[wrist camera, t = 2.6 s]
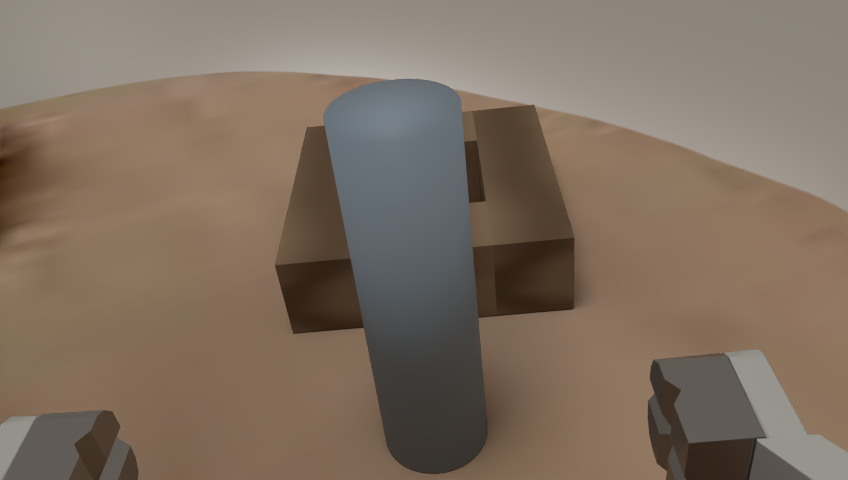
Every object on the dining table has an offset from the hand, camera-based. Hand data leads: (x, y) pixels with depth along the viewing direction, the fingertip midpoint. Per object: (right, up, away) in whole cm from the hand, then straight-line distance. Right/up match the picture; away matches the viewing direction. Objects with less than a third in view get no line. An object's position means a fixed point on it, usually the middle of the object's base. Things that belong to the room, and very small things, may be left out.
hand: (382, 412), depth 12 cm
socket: (+1, +3, +29) cm, 29 cm away
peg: (+1, -5, +19) cm, 19 cm away
